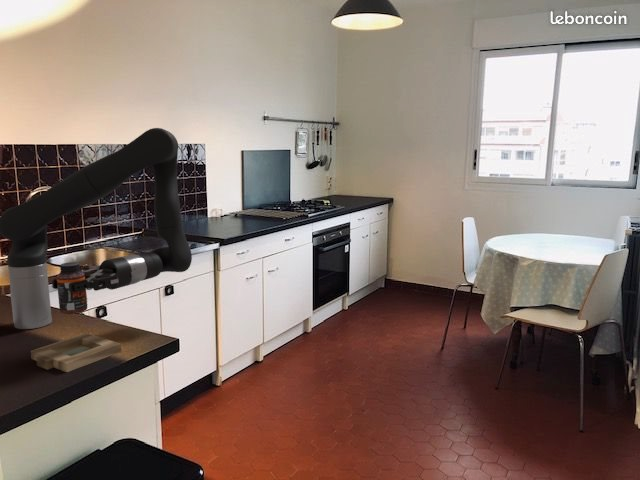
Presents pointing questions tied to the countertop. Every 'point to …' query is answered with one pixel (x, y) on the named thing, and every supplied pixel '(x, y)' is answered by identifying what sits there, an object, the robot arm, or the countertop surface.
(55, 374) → the countertop surface
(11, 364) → the countertop surface
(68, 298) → the supplement bottle
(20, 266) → the robot arm
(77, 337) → the holder
